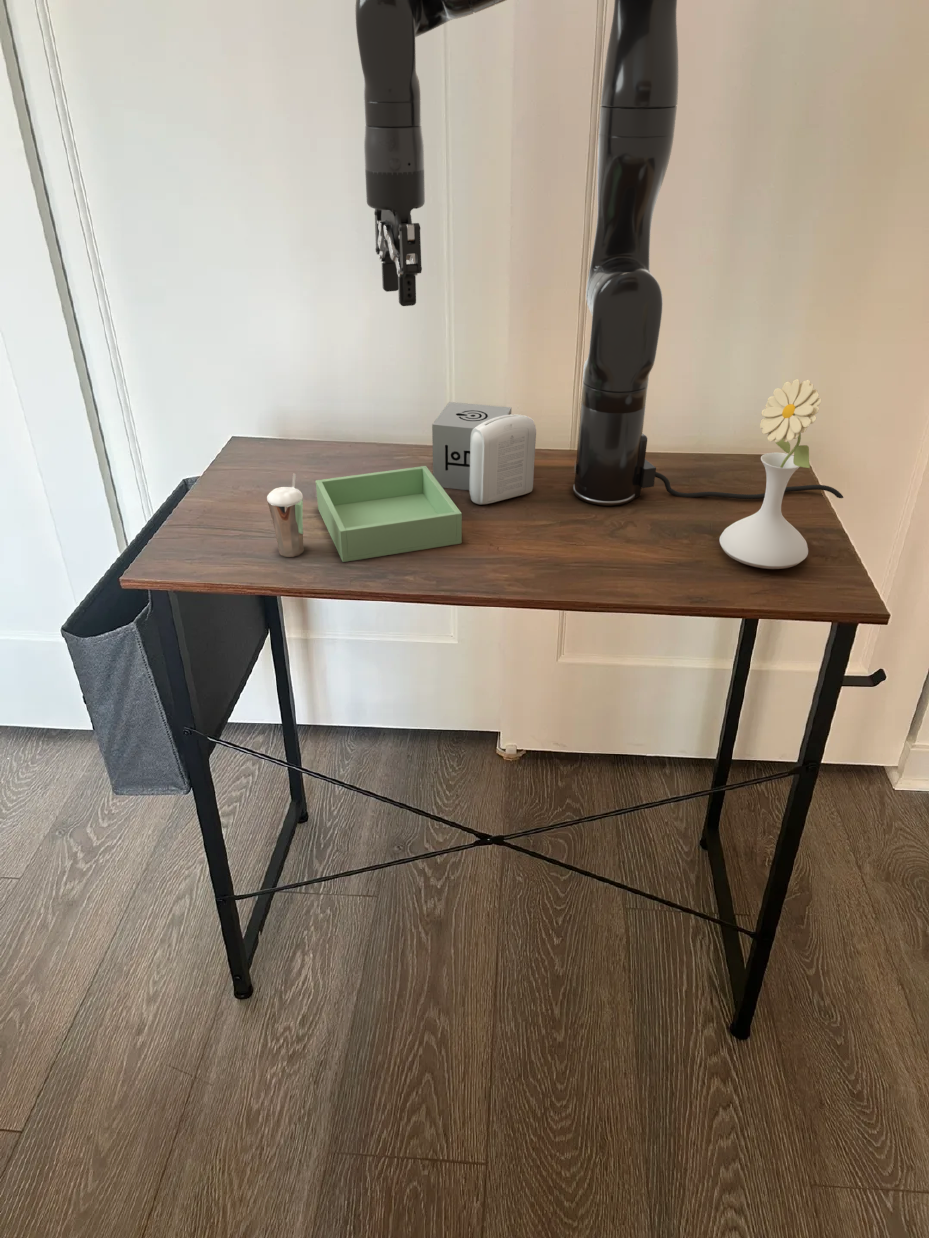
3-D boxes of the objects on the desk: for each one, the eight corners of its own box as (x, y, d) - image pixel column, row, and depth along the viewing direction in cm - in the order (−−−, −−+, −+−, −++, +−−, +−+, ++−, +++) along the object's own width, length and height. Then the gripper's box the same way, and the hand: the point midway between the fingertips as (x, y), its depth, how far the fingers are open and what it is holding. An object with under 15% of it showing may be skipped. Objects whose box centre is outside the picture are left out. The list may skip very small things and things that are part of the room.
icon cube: (433, 486, 138) (432, 424, 132) (449, 461, 146) (448, 401, 141) (496, 493, 136) (498, 430, 130) (509, 467, 144) (511, 407, 139)
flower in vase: (709, 535, 125) (741, 356, 111) (792, 536, 125) (833, 358, 111) (730, 583, 114) (767, 392, 100) (820, 585, 114) (870, 393, 100)
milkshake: (317, 543, 122) (310, 476, 117) (298, 562, 118) (290, 493, 112) (287, 538, 123) (279, 471, 118) (267, 556, 119) (258, 487, 114)
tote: (426, 493, 136) (426, 465, 133) (461, 543, 123) (461, 513, 120) (318, 509, 131) (315, 480, 129) (342, 562, 118) (340, 531, 115)
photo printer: (520, 482, 139) (524, 405, 132) (537, 493, 136) (541, 414, 129) (465, 498, 134) (465, 419, 127) (480, 509, 131) (482, 428, 124)
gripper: (439, 172, 109) (440, 308, 118) (407, 158, 120) (410, 284, 129) (379, 174, 107) (385, 313, 116) (352, 160, 118) (360, 288, 127)
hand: (399, 297), depth 123 cm, fingers open, 8 cm apart
